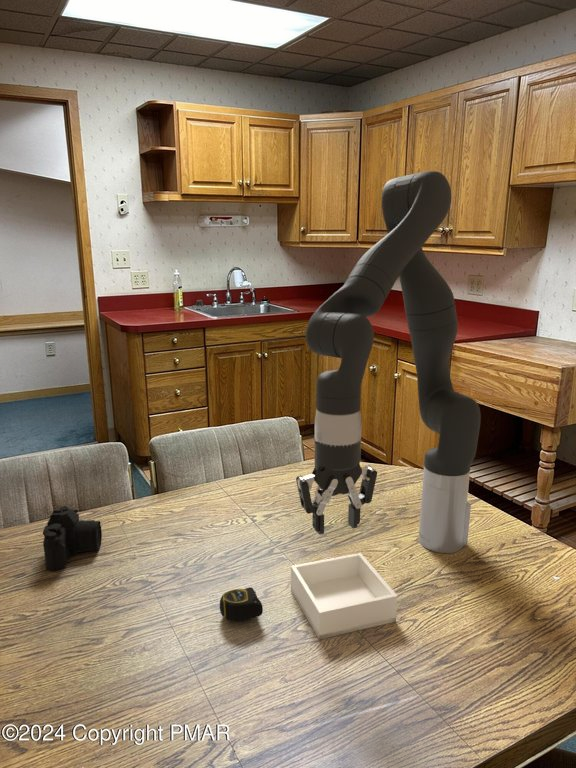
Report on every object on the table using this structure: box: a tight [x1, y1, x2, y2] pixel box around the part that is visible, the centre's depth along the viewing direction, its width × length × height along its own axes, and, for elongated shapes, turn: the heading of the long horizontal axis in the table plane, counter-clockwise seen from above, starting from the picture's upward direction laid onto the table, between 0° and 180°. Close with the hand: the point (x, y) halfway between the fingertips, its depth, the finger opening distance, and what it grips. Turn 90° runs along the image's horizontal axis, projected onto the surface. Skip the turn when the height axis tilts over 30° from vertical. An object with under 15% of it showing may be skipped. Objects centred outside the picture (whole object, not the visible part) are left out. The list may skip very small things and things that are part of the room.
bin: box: [290, 552, 398, 640], centre depth 100 cm, size 14×14×5 cm
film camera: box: [42, 505, 103, 573], centre depth 116 cm, size 15×10×9 cm, turn 8°
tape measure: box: [219, 587, 264, 623], centre depth 97 cm, size 7×7×4 cm
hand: (336, 528), depth 96 cm, fingers open, 5 cm apart
